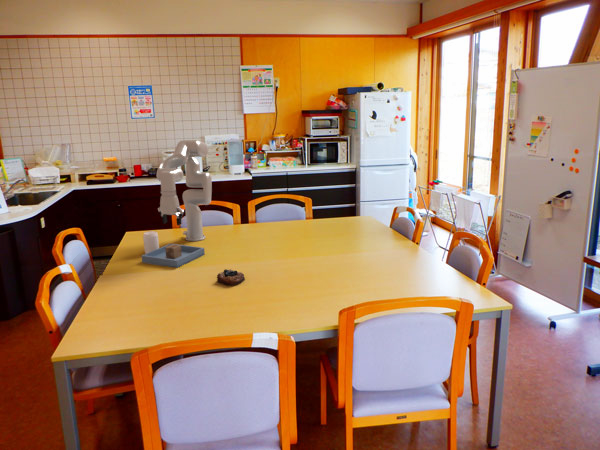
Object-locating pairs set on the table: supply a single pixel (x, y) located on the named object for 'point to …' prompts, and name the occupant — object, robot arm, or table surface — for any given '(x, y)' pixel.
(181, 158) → the robot arm
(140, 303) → the table surface
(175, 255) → the walnut block
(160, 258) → the slate tray
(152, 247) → the beverage can
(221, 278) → the pastry
